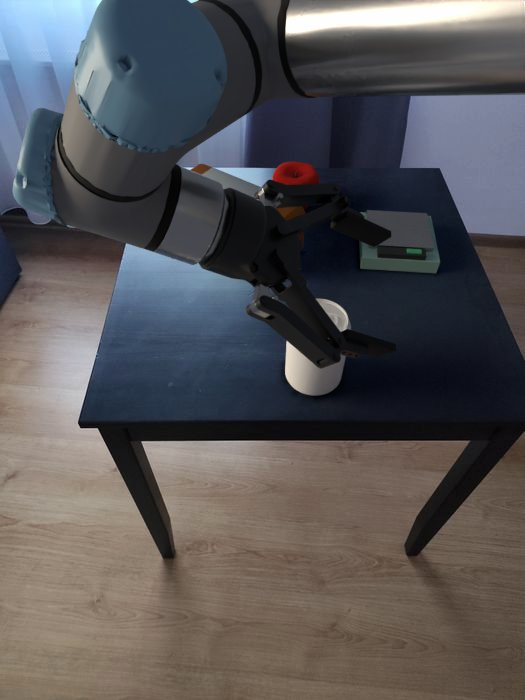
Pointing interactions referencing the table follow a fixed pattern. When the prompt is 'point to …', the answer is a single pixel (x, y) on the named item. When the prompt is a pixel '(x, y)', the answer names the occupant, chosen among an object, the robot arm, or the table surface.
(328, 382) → the beverage can
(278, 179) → the apple
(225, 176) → the alarm clock
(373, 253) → the scale
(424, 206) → the table surface
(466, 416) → the table surface
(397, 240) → the weighing plate
